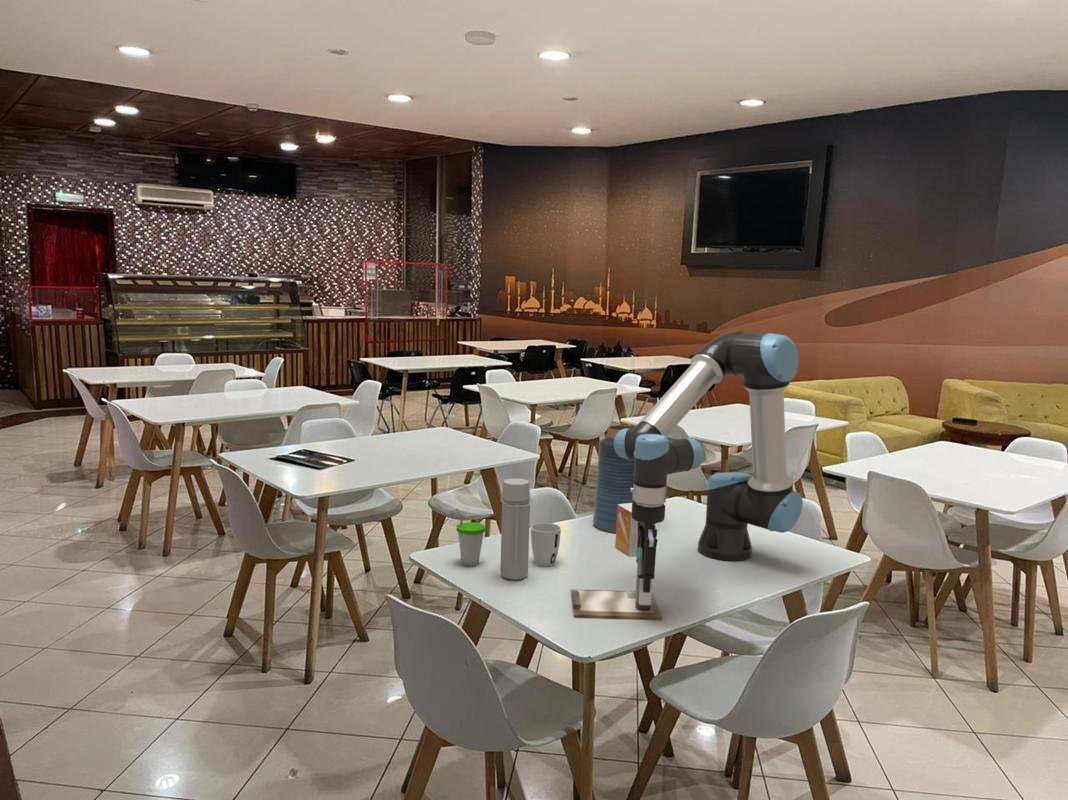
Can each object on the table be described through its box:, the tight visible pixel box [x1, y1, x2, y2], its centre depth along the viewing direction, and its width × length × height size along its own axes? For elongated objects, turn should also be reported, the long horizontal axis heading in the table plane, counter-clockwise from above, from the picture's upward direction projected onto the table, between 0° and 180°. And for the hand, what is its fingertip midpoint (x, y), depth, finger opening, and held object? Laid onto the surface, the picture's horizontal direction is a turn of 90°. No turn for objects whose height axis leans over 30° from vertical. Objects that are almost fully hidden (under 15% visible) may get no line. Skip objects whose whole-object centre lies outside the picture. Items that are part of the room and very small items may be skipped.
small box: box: [614, 503, 638, 557], centre depth 221 cm, size 8×6×13 cm
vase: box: [592, 424, 636, 534], centre depth 242 cm, size 16×16×32 cm
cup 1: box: [455, 507, 486, 568], centre depth 206 cm, size 8×8×15 cm
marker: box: [635, 547, 652, 610], centre depth 179 cm, size 4×4×14 cm
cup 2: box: [530, 522, 562, 567], centre depth 209 cm, size 8×8×10 cm
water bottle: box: [499, 477, 533, 581], centre depth 197 cm, size 9×8×25 cm
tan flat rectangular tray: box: [570, 588, 663, 621], centre depth 183 cm, size 20×15×2 cm
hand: (643, 600), depth 180 cm, fingers closed on marker, 3 cm apart
